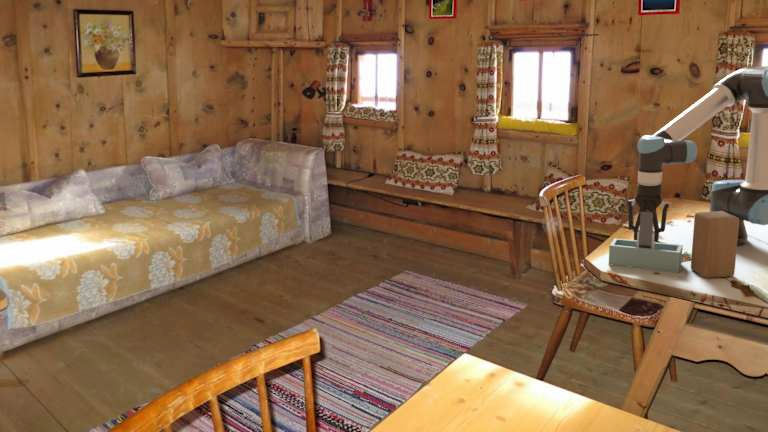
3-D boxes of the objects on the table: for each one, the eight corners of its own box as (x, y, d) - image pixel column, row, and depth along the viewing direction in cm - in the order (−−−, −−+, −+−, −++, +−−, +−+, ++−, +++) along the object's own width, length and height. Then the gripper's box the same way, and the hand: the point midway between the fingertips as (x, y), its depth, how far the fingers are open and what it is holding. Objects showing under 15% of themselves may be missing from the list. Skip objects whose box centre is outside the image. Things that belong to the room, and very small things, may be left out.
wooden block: (689, 269, 222) (693, 211, 217) (717, 267, 223) (722, 209, 218) (705, 279, 213) (710, 219, 207) (735, 277, 213) (741, 217, 208)
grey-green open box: (681, 264, 227) (682, 244, 225) (678, 272, 219) (679, 252, 218) (613, 256, 238) (614, 238, 236) (608, 264, 230) (609, 245, 228)
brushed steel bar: (652, 254, 228) (654, 209, 224) (650, 257, 225) (653, 212, 221) (639, 253, 230) (642, 208, 226) (637, 256, 227) (640, 211, 223)
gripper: (678, 182, 220) (673, 249, 226) (624, 179, 228) (621, 244, 234) (675, 187, 214) (670, 255, 220) (620, 183, 222) (617, 250, 228)
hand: (645, 249), depth 227 cm, fingers closed on brushed steel bar, 4 cm apart
